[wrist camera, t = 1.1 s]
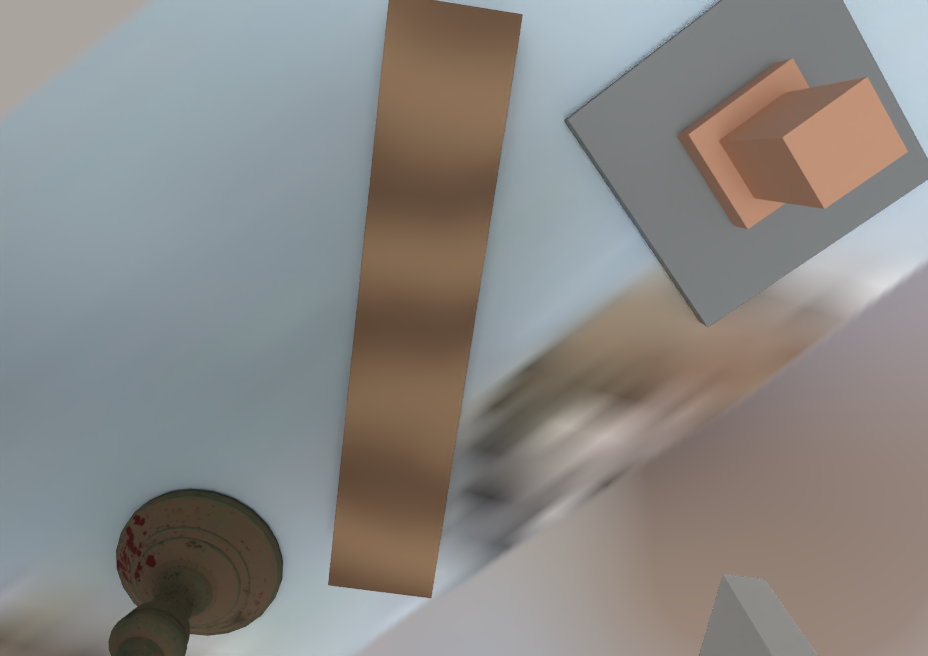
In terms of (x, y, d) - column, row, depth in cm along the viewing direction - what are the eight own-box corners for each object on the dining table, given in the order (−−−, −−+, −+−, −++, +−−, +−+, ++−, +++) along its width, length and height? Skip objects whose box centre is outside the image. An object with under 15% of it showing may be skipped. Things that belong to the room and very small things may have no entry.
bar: (435, 537, 35) (431, 598, 30) (347, 525, 35) (328, 585, 30) (512, 38, 28) (522, 14, 23) (403, 20, 28) (389, -7, 23)
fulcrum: (700, 322, 31) (777, 376, 23) (564, 120, 29) (600, 108, 21) (920, 173, 29) (1083, 180, 22) (795, -57, 27) (929, -143, 19)
